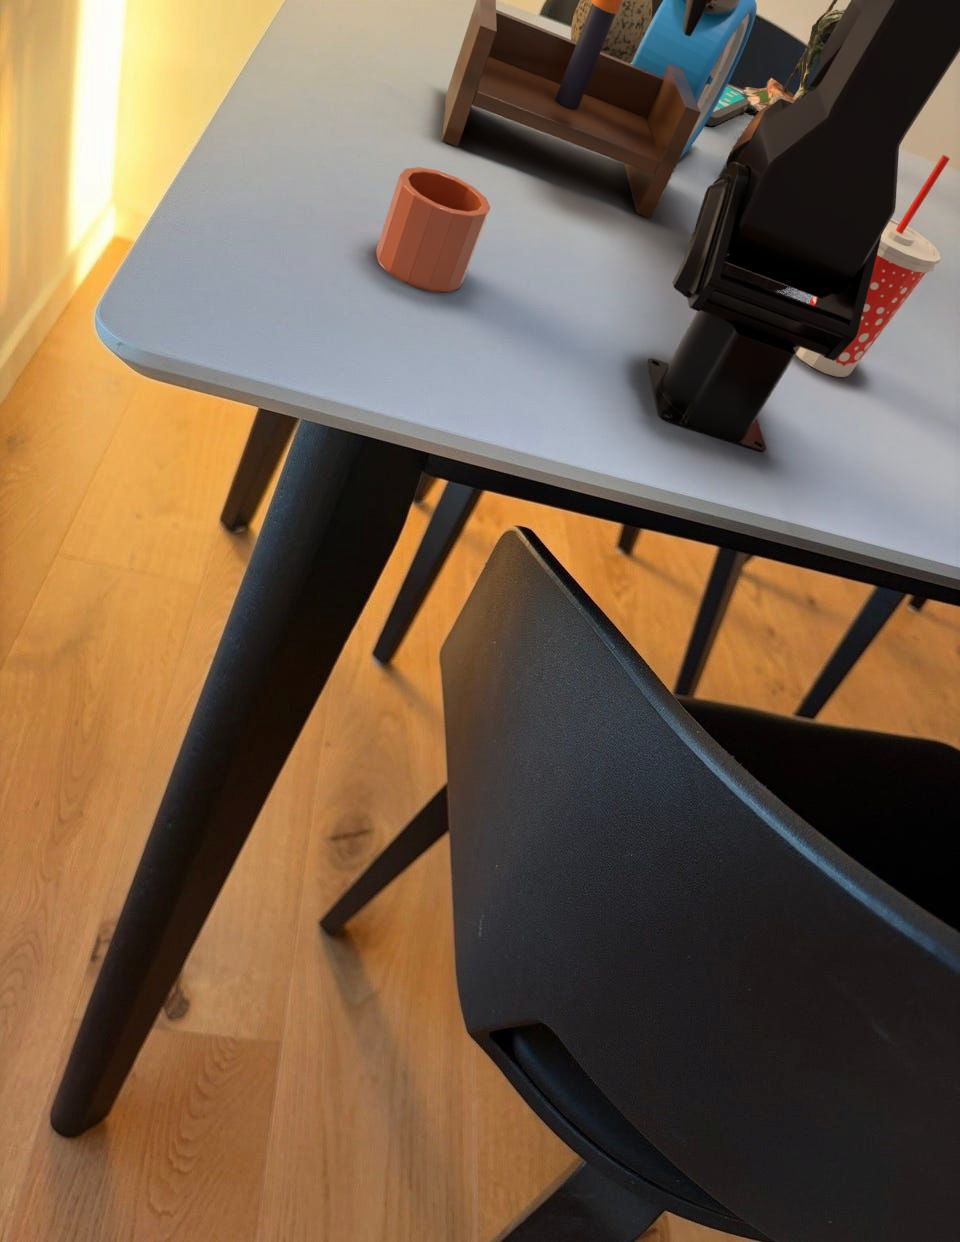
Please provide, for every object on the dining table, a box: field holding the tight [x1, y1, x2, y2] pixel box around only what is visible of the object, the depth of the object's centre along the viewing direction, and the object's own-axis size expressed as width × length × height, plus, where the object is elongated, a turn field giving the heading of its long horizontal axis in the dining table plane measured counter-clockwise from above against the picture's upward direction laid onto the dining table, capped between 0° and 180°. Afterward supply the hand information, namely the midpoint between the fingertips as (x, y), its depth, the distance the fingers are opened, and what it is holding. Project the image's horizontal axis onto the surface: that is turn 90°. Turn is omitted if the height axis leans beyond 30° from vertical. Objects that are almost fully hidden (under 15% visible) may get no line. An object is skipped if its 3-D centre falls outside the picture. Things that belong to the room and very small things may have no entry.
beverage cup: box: [795, 154, 951, 378], centre depth 70 cm, size 6×6×14 cm
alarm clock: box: [630, 0, 758, 158], centre depth 91 cm, size 13×6×15 cm, turn 156°
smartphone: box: [705, 84, 751, 127], centre depth 112 cm, size 9×1×15 cm
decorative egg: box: [570, 0, 653, 64], centre depth 103 cm, size 7×7×10 cm
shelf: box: [441, 0, 701, 219], centre depth 82 cm, size 10×16×8 cm, turn 90°
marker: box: [556, 0, 623, 110], centre depth 79 cm, size 2×2×10 cm
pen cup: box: [375, 166, 491, 293], centre depth 61 cm, size 5×5×5 cm
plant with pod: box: [742, 0, 846, 112], centre depth 112 cm, size 8×11×20 cm
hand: (749, 60), depth 72 cm, fingers open, 9 cm apart
